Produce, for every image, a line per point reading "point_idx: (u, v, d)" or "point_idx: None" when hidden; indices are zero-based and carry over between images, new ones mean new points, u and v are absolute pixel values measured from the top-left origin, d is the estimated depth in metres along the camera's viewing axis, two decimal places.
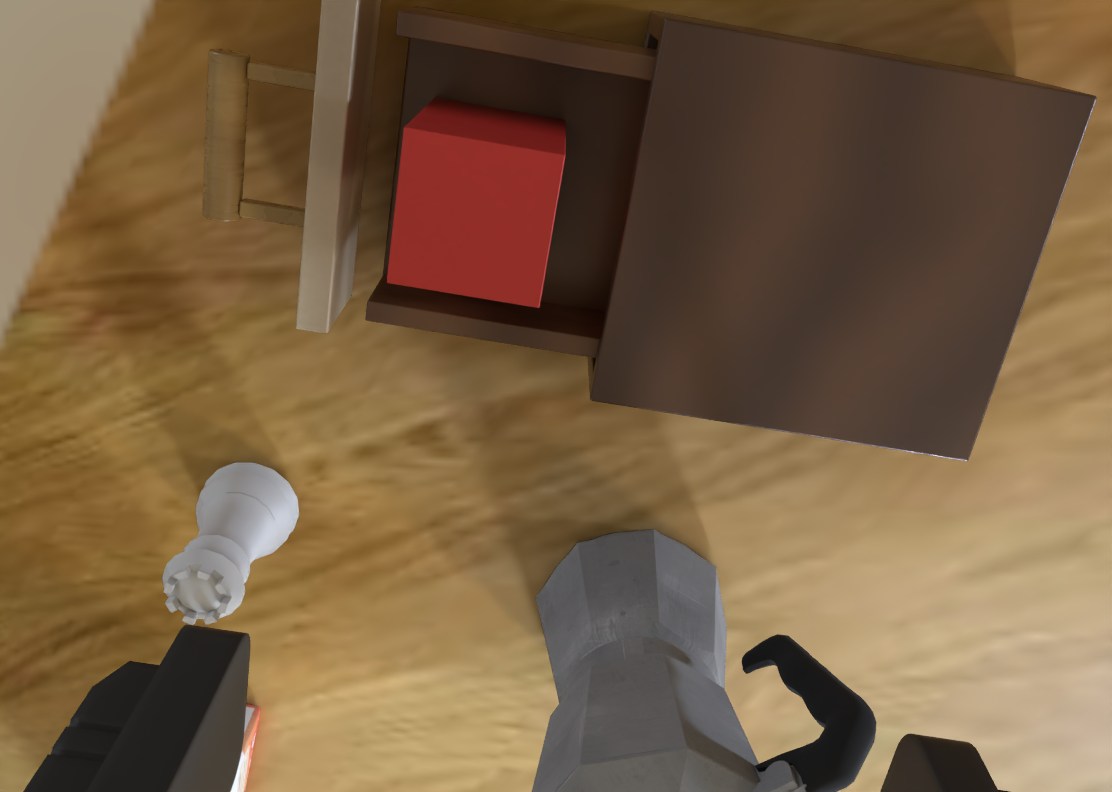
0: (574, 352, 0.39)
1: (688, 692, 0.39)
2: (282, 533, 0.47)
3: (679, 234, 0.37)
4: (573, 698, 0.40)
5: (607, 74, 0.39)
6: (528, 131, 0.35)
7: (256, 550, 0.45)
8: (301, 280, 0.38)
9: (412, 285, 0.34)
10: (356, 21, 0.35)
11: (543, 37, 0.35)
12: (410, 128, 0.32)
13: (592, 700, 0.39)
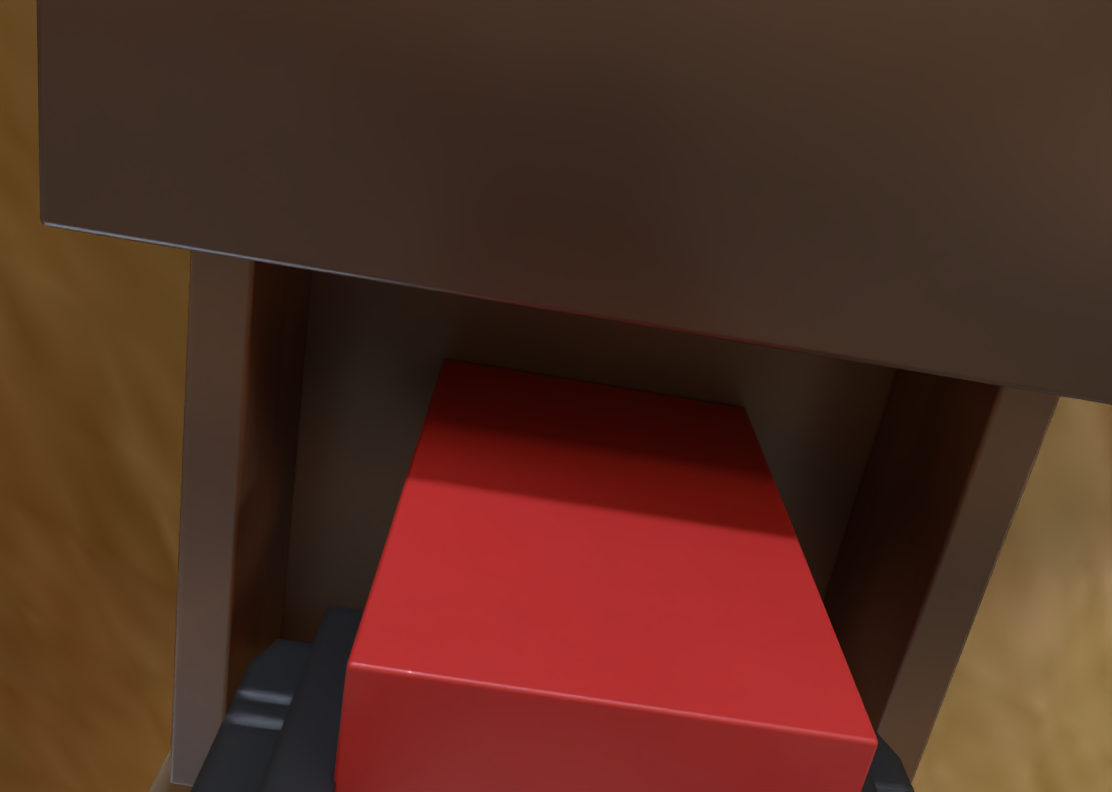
0: (1041, 429, 0.13)
1: None
2: None
3: (692, 156, 0.11)
4: None
5: None
6: None
7: None
8: None
9: None
10: None
11: (182, 498, 0.14)
12: None
13: None
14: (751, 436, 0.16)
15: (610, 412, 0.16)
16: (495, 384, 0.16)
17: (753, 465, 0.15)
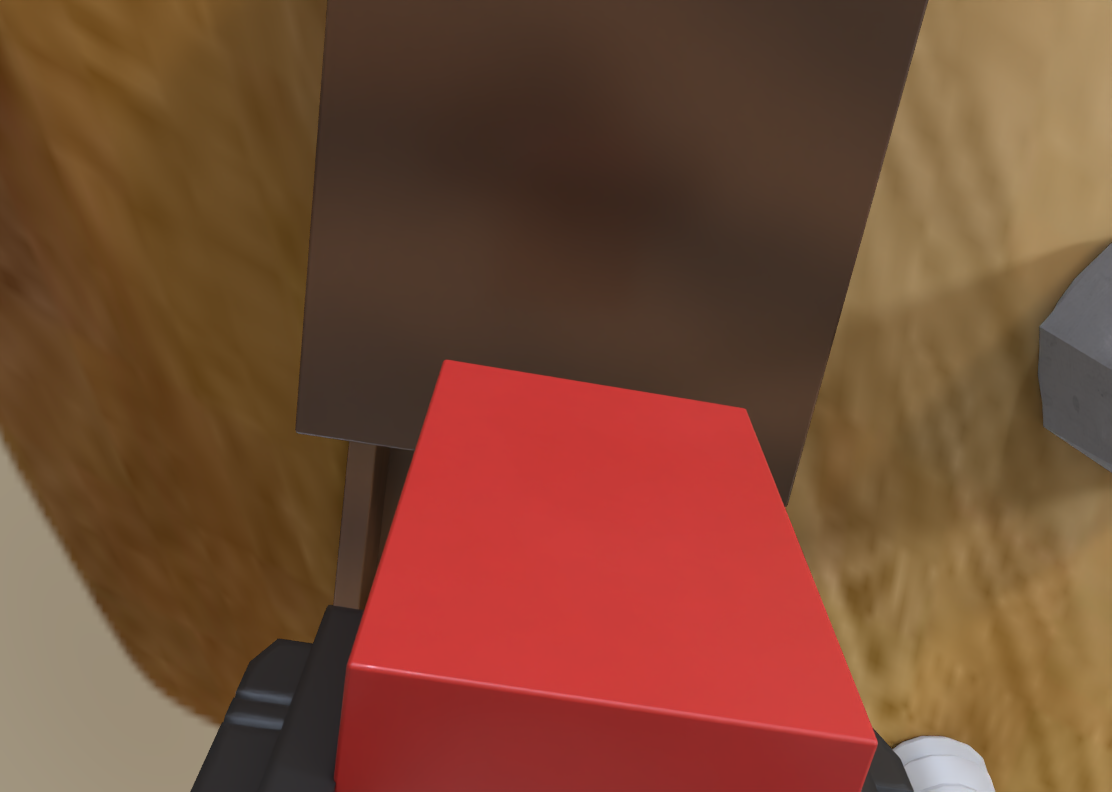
0: None
1: None
2: (964, 773, 0.38)
3: None
4: None
5: None
6: None
7: None
8: None
9: None
10: None
11: (340, 540, 0.31)
12: None
13: None
14: (751, 436, 0.16)
15: (610, 412, 0.16)
16: (495, 384, 0.16)
17: (753, 465, 0.15)
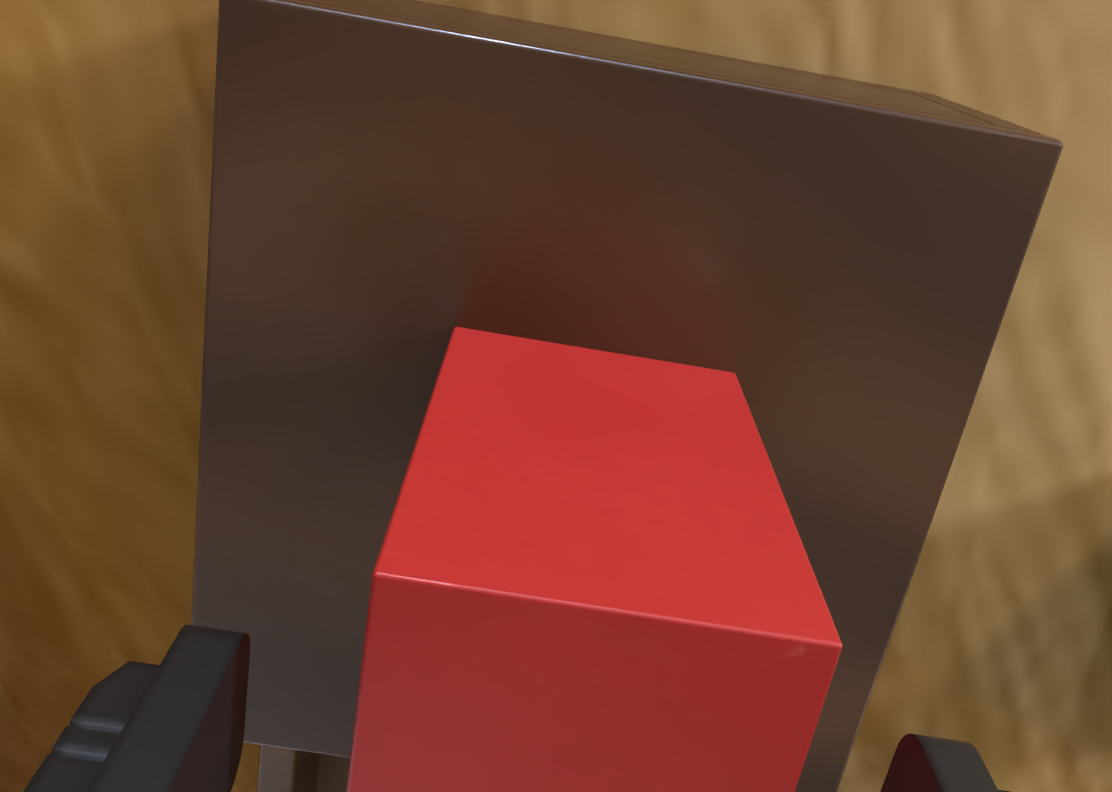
0: None
1: None
2: None
3: None
4: None
5: None
6: None
7: None
8: None
9: None
10: None
11: None
12: None
13: None
14: (739, 396, 0.17)
15: (608, 374, 0.17)
16: (502, 349, 0.17)
17: (740, 421, 0.16)
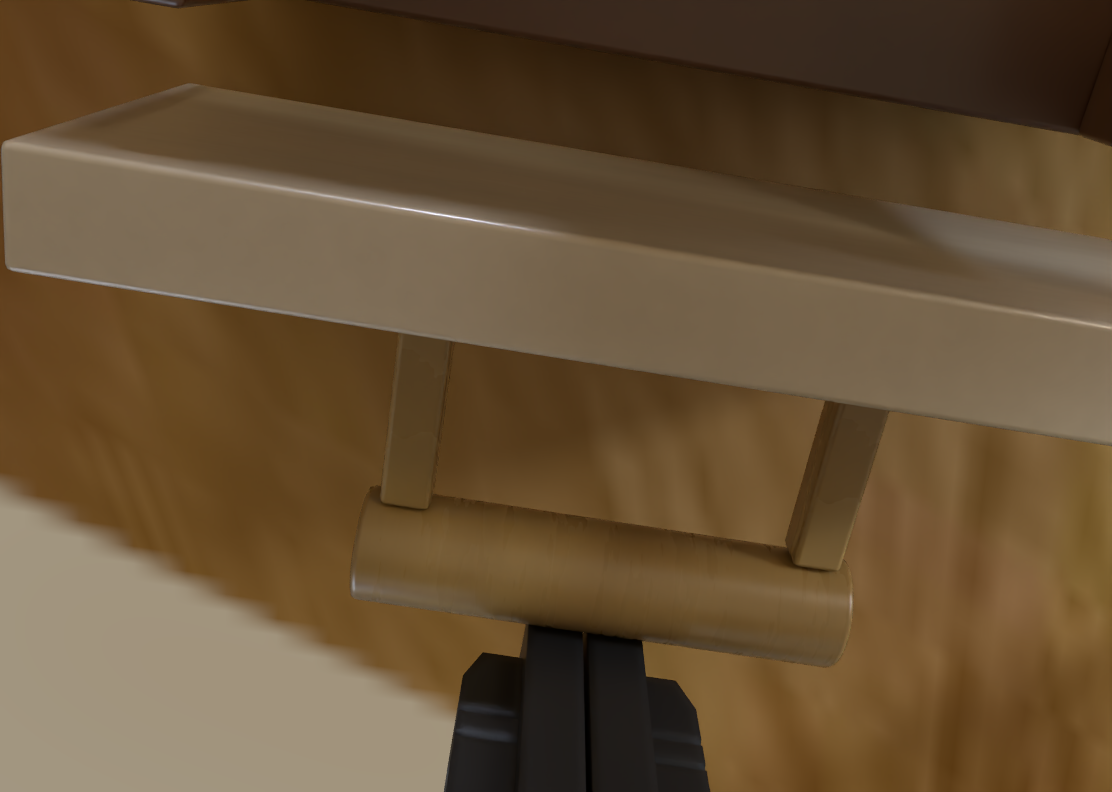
0: None
1: None
2: None
3: None
4: None
5: None
6: None
7: None
8: None
9: None
10: (149, 162, 0.09)
11: None
12: None
13: None
14: None
15: None
16: None
17: None
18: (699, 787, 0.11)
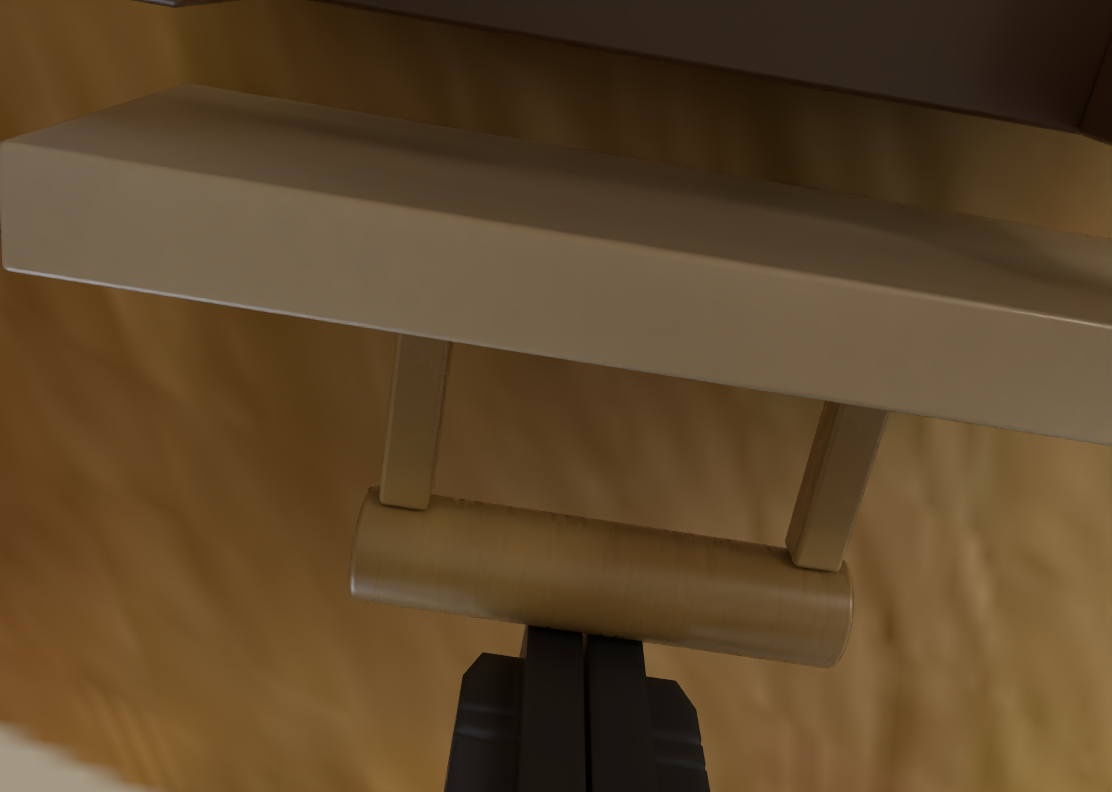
0: None
1: None
2: None
3: None
4: None
5: None
6: None
7: None
8: None
9: None
10: (147, 161, 0.09)
11: None
12: None
13: None
14: None
15: None
16: None
17: None
18: (699, 787, 0.11)
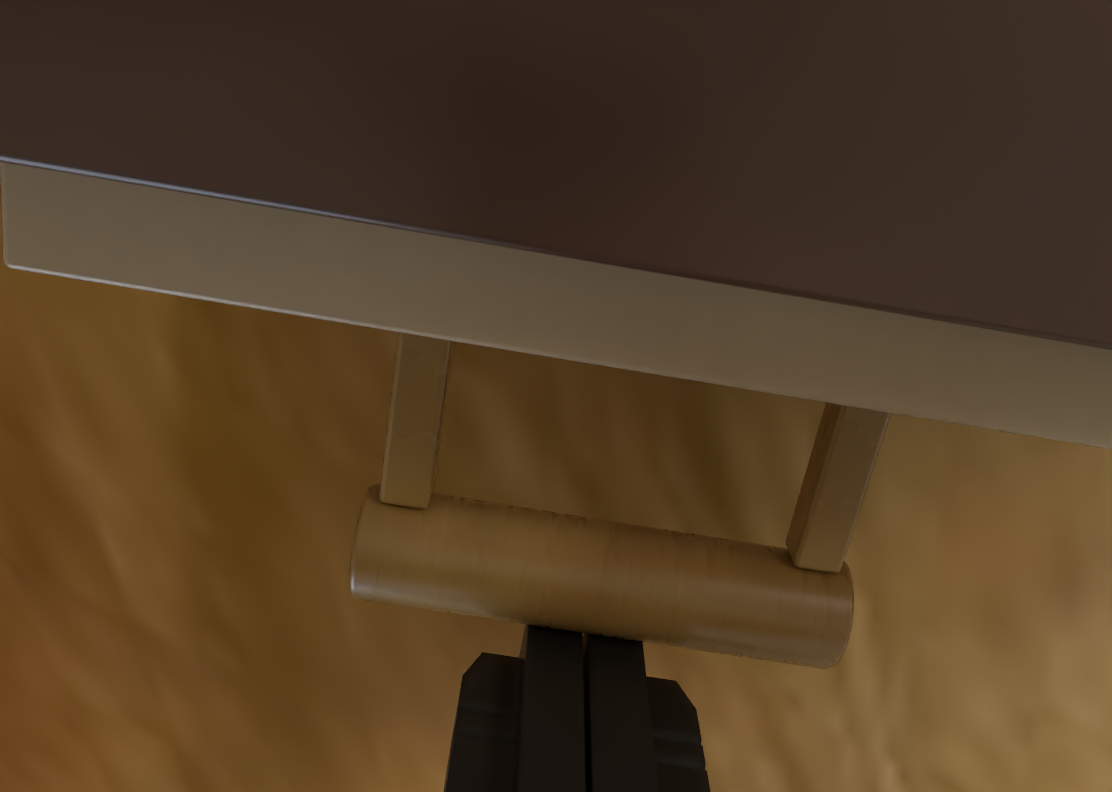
0: None
1: None
2: None
3: (788, 34, 0.08)
4: None
5: None
6: None
7: None
8: None
9: None
10: None
11: None
12: None
13: None
14: None
15: None
16: None
17: None
18: (699, 787, 0.11)
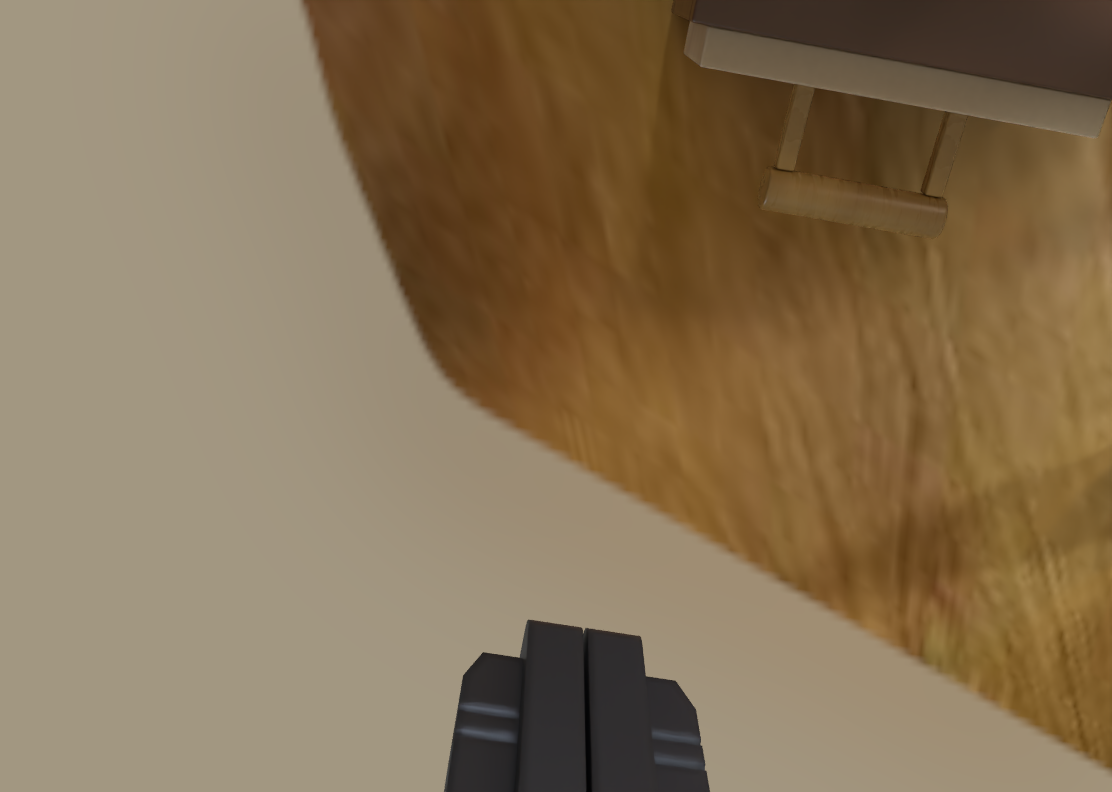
0: None
1: None
2: None
3: None
4: None
5: None
6: None
7: None
8: (1038, 125, 0.32)
9: None
10: None
11: None
12: None
13: None
14: None
15: None
16: None
17: None
18: (699, 787, 0.11)
